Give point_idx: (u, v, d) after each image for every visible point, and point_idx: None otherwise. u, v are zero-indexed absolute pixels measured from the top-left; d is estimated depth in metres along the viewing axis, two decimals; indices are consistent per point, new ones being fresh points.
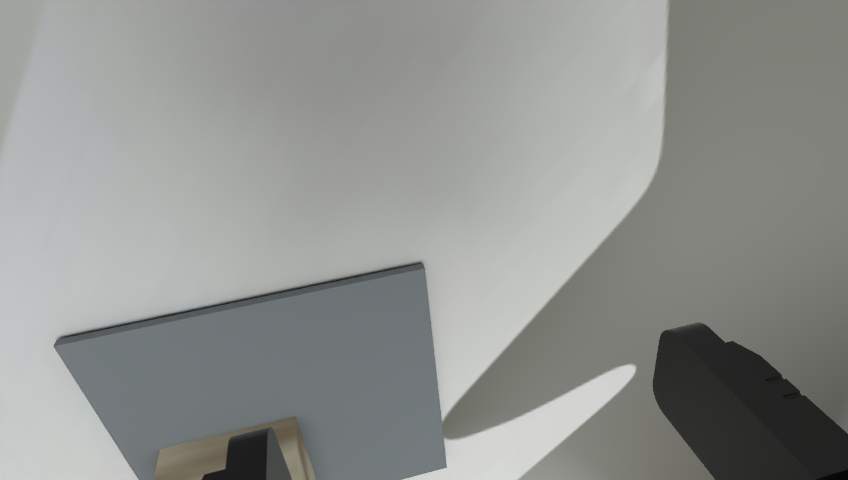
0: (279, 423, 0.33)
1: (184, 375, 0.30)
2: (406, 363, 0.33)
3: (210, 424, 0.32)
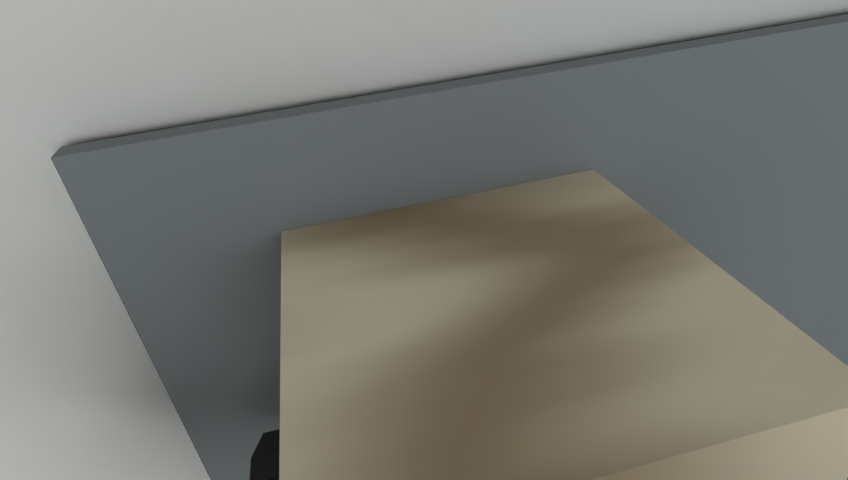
0: None
1: (790, 248, 0.13)
2: None
3: None
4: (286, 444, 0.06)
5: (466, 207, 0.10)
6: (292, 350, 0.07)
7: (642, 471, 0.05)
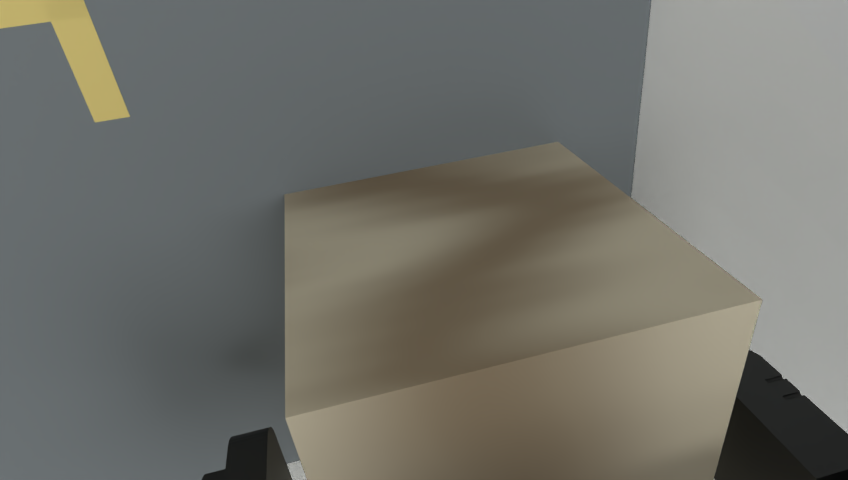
0: None
1: None
2: None
3: None
4: (290, 342, 0.07)
5: (445, 173, 0.11)
6: (294, 280, 0.08)
7: (567, 354, 0.07)
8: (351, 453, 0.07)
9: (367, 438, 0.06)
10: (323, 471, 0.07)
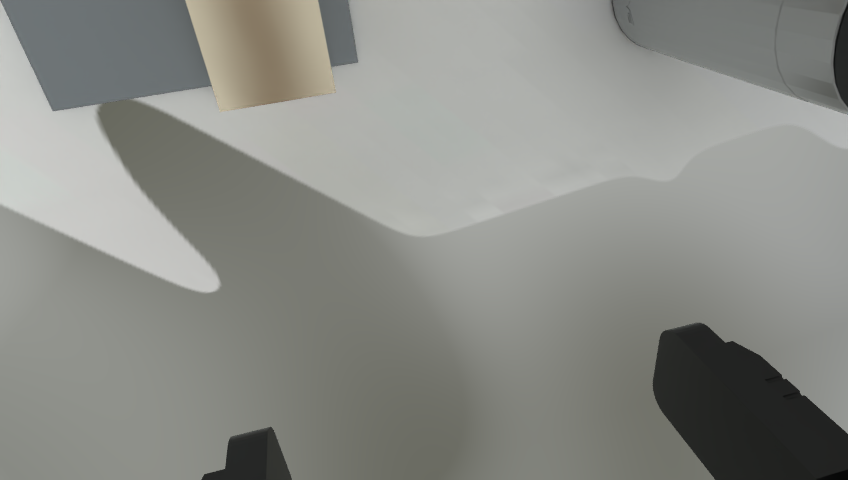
0: None
1: None
2: None
3: None
4: None
5: None
6: None
7: None
8: None
9: None
10: None
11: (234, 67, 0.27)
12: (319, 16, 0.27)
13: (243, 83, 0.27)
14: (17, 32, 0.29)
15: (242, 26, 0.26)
